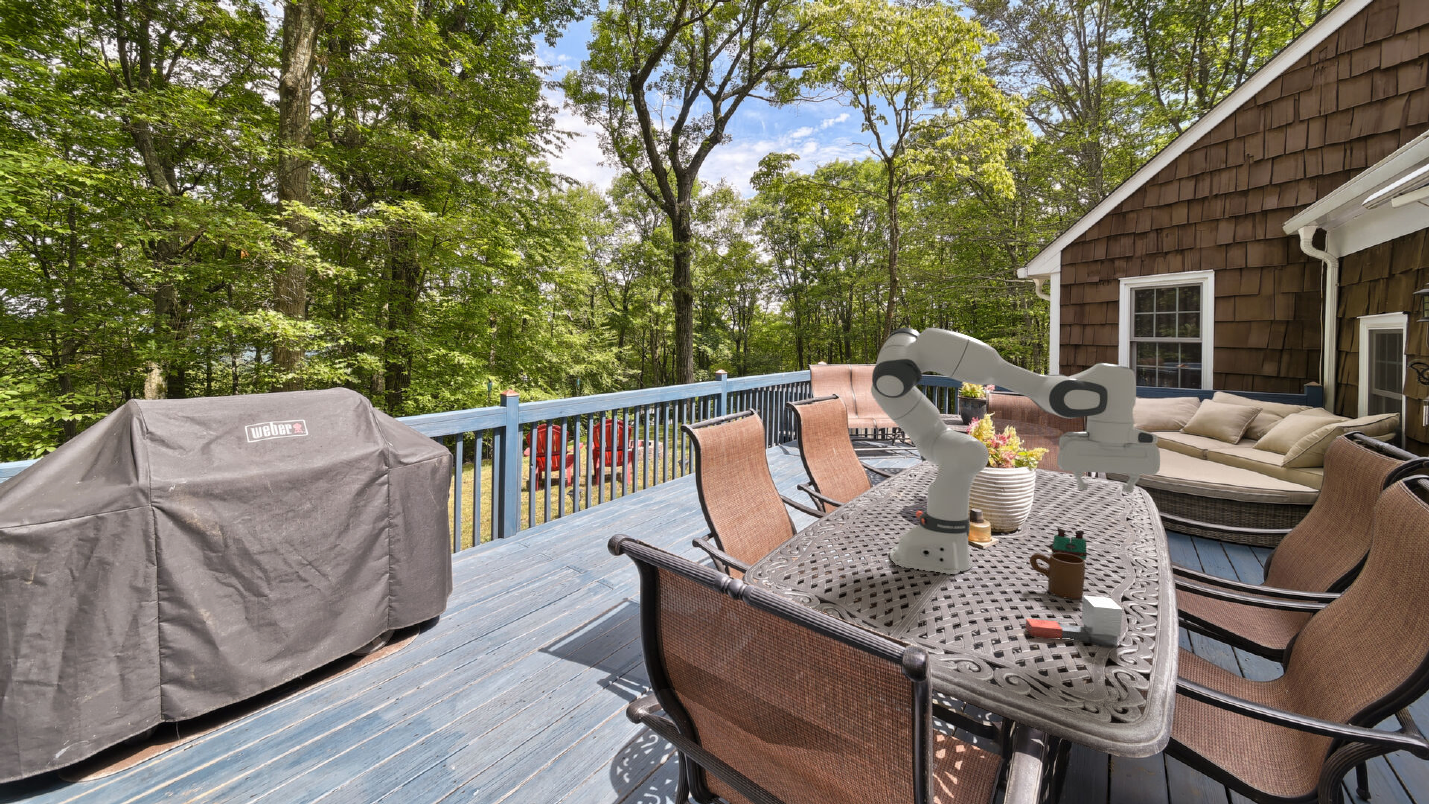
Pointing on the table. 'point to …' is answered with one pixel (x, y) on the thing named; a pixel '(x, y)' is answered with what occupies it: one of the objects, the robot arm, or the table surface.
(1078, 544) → the binoculars
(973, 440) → the robot arm
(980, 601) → the table surface
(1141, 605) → the table surface
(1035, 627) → the ratchet
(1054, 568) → the mug
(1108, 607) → the silver metal block
